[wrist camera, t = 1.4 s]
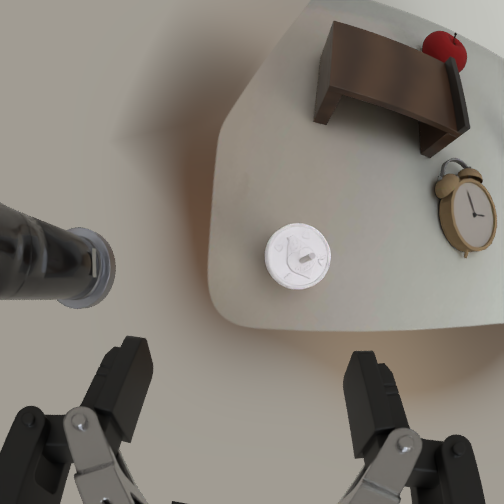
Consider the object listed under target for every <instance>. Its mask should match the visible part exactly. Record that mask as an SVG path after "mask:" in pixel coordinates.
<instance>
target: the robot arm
mask: <svg viewBox="0 0 504 504" xmlns="http://www.w3.org/2000/svg"><path fill="white" fill-rule="evenodd" d="M101 275H102V259H101V255H100V252H99V250H98V248H97V247H96V245H95V244H94V243H93V242H92V241H91V240H89V239H88V238H86V237H83V236H80V235H76V234H74V233H71V232H69V231H66V230H64V229H61V228H59V227H56V226H53V225H51V224H48V223H46V222H44V221H41V220H39V219H36V218H34V217H31V216H28V215H26V214H24V213H21V212H19V211H16V210H14V209H12V208H10V207H7V206H5V205H4V204H2V203H0V300H53V299H62V300H63V299H69V300H80V299H84V298H86V297H88V296H89V295H90V294H92V293H93V292H94V290H95V289H96V288H97V286H98V284H99V282H100V279H101ZM152 374H153V362H152V359H151V355H150V351H149V347H148V343H147V340H146V339H145V338H140V337H133V336H126V338H125V339H124V341H123V343H122V345H121V347H113V348H112V349H111V350H110V351H109V352H108V353H107V354H106V355H105V356H104V358H103V360H102V362H101V364H100V367H99V368H98V370H97V372H96V375H95V376H94V379H93V381H92V383H91V385H90V387H89V389H88V391H87V393H86V395H85V397H84V400H83V402H82V404H81V405H80V406H79V407H76V408H73V409H71V410H70V411H69V412H67V414H66V415H44V413H43V412H42V411H41V410H40V409H39V408H38V407H35V406H27V407H25V408H23V409H21V410H20V411H19V412H18V414H17V415H16V417H15V420H14V422H13V424H12V426H11V429H10V431H9V433H8V435H7V438H6V440H5V443H4V445H3V447H2V450H1V452H0V504H60V502H61V498H62V494H63V491H64V487H65V483H66V480H67V476H68V473H69V470H70V466H71V463H74V464H75V467H76V471H77V473H76V474H75V475H74V479H75V483H76V485H77V488H78V491H79V494H80V496H81V499H82V501H83V504H148V503H147V501H146V499H145V498H144V496H143V495H142V493H141V492H140V490H139V489H138V487H137V485H136V484H135V482H134V480H133V478H132V476H131V473H130V472H129V469H128V468H127V465H126V463H125V461H124V459H123V457H122V454H121V452H120V450H119V447H120V444H121V441H124V442H128V443H131V440H132V436H133V433H134V430H135V427H136V424H137V421H138V417H139V414H140V412H141V409H142V406H143V403H144V399H145V397H146V394H147V391H148V388H149V385H150V382H151V379H152ZM343 390H344V395H345V401H346V407H347V412H348V418H349V424H350V430H351V437H352V443H353V450H354V456H355V459H356V458H364V462H365V465H364V466H363V468H362V469H361V471H360V472H359V474H358V475H357V477H356V478H355V480H354V482H353V483H352V484H351V486H350V487H349V489H348V490H347V491H346V493H345V495H344V496H343V497H342V498H341V500H340V501H339V502H338V504H399V503H400V500H401V498H400V493H401V491H402V489H403V487H404V486H406V487H410V489H411V497H412V504H485V499H484V494H483V489H482V485H481V480H480V476H479V472H478V468H477V464H476V460H475V456H474V453H473V449H472V446H471V443H470V442H469V440H468V439H466V438H465V437H464V436H461V435H451V436H449V437H448V438H446V439H445V441H444V442H443V441H434V440H426V439H422V438H420V436H419V435H418V434H417V433H416V432H415V431H414V430H412V429H410V427H409V425H408V422H407V418H406V415H405V411H404V408H403V405H402V401H401V398H400V395H399V394H398V393H399V392H398V389H397V386H396V382H395V379H394V377H393V373H392V372H391V371H390V369H389V368H388V367H387V366H386V365H385V363H382V364H378V363H377V360H376V357H375V354H374V352H373V351H354V352H353V354H352V356H351V359H350V362H349V364H348V367H347V370H346V372H345V375H344V381H343ZM172 504H185V503H179V502H174V501H172Z"/></svg>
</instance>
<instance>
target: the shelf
mask: <svg viewBox="0 0 504 504" xmlns="http://www.w3.org/2000/svg"><path fill="white" fill-rule="evenodd" d="M342 95H345V96H349V97H352V98H355V99H359V100H362V101H365V102H368V103H371V104H375V105H378V106H381V107H383V108H386V109H389V110H392V111H395V112H398V113H400V114H403V115H406V116H408V117H411V118H414V119H416V120H419V131H420V151H421V155H424V156H427V157H429V158H431V157H432V156H434V155H435V154H436V153H438V152H439V151H440V150H442V149H443V148H444V147H446V146H447V145H449V144H450V143H451V142H453V141H454V140H455V139H457V138H458V137H459V136H461V135H462V134H463V133H465V132H466V131H467V130H469V129H470V124H469V118H468V112H467V107H466V102H465V97H464V92H463V88H462V84H461V79H460V75H459V72H458V68H457V64H456V60H455V58H453V57H451V56H450V57H449V58H448V59H447V61H446V62H445V63H444V62H442V61H440V60H438V59H436V58H433V57H431V56H429V55H427V54H425V53H423V52H420V51H418V50H416V49H414V48H411V47H409V46H407V45H404V44H402V43H399V42H397V41H394V40H391V39H389V38H386V37H383V36H381V35H378V34H375V33H372V32H369V31H366V30H363V29H360V28H357V27H354V26H351V25H347V24H344V23H340V22H337V21H333V24H332V26H331V29H330V32H329V35H328V38H327V41H326V43H325V46H324V49H323V52H322V55H321V57H320V67H319V77H318V86H317V95H316V104H315V112H314V121H313V122H316V123H320V124H324V125H327V123H328V121H329V119H330V117H331V115H332V114H333V112H334V110H335V108H336V106H337V104H338V102H339V100H340V98H341V97H342Z"/></svg>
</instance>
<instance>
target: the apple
mask: <svg viewBox="0 0 504 504" xmlns="http://www.w3.org/2000/svg"><path fill="white" fill-rule="evenodd" d="M456 35H457V34H456V33H455V36H454V37H453V36H452V35H450V34H449V33H447V32H444V31H436V32H433V33H431V34H429V35H428V36H427V37H426V38H425V40H424V42H423V47H422V52H423V53H425V54H427V55H429V56H431V57H433V58H436V59H438V60H440V61H442V62H444V63H445V62H446V61H447V59H448V58H449V57H450V56H451V57H453V58H455V60H456V64H457V68H458V72H460V71H462V70H463V68H464V67H465V65H466V62H467V53H466V50H465V48H464V46H463V45H462V43H461V42H460V41H459V40H458V39H456V38H455V37H456Z"/></svg>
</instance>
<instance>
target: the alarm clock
mask: <svg viewBox="0 0 504 504" xmlns="http://www.w3.org/2000/svg"><path fill="white" fill-rule="evenodd" d="M451 161H453V162H457V163H458V164H460V165H461V166H462V167H463V168H464V169H462V170H461V171H460V172H459V173H458V175H457V176H456V175H454V174H446V175H444V174H445V169H446V165H447V164H448V163H449V162H451ZM438 179H439V180H438V182H437V184H436V186H435V193H436V195H437V197H438V198H441V201H440V209H439V216H440V221H441V226H442V229H443V231H444V234H445V236H446V238H447V239H448V241H449V242H450V243H451V245H452V246H453V247H455V248H456V249H457V250H459V251H463V252H465V253H464V258H467V255H468V252H472V251H481V250H485V249H486V248H487V247H488V246H489V245H490V244H492V241H493V239H494V237H495V233H496V228H497V215H496V210H495V205H494V203H493V200H492V198H491V195H490V194H489V192H488V191H487V189H486V188H485V187H484V186H483V185H482V184H481V183H482V182H483V180H482V176H481V174H480V173H479V172H478V171H477V170H475V169H471V167H468V166H467V165H466V164H465V163H464V162H463V161H462V160H460V159H457V158H452V159H450V160H448V161H446V162H445V163H443V165H442V168H441V174H440V176H438Z"/></svg>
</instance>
